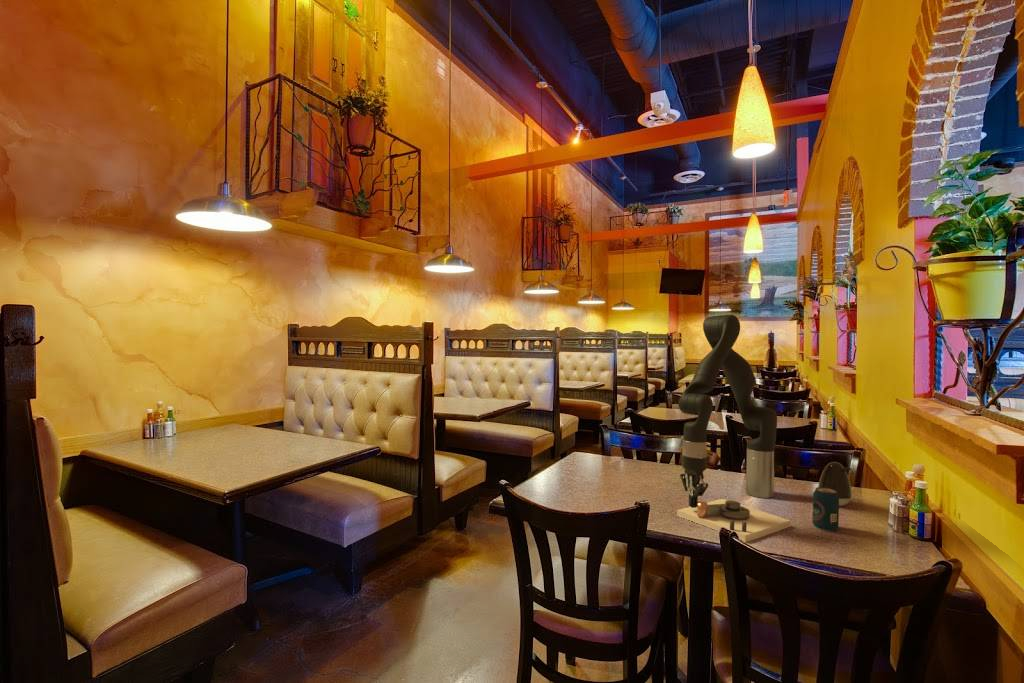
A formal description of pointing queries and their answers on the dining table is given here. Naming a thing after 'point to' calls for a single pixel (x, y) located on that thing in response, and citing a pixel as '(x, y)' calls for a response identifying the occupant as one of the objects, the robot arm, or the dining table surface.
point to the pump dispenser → (837, 481)
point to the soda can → (825, 509)
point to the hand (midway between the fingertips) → (693, 506)
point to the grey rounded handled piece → (723, 510)
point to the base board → (739, 522)
